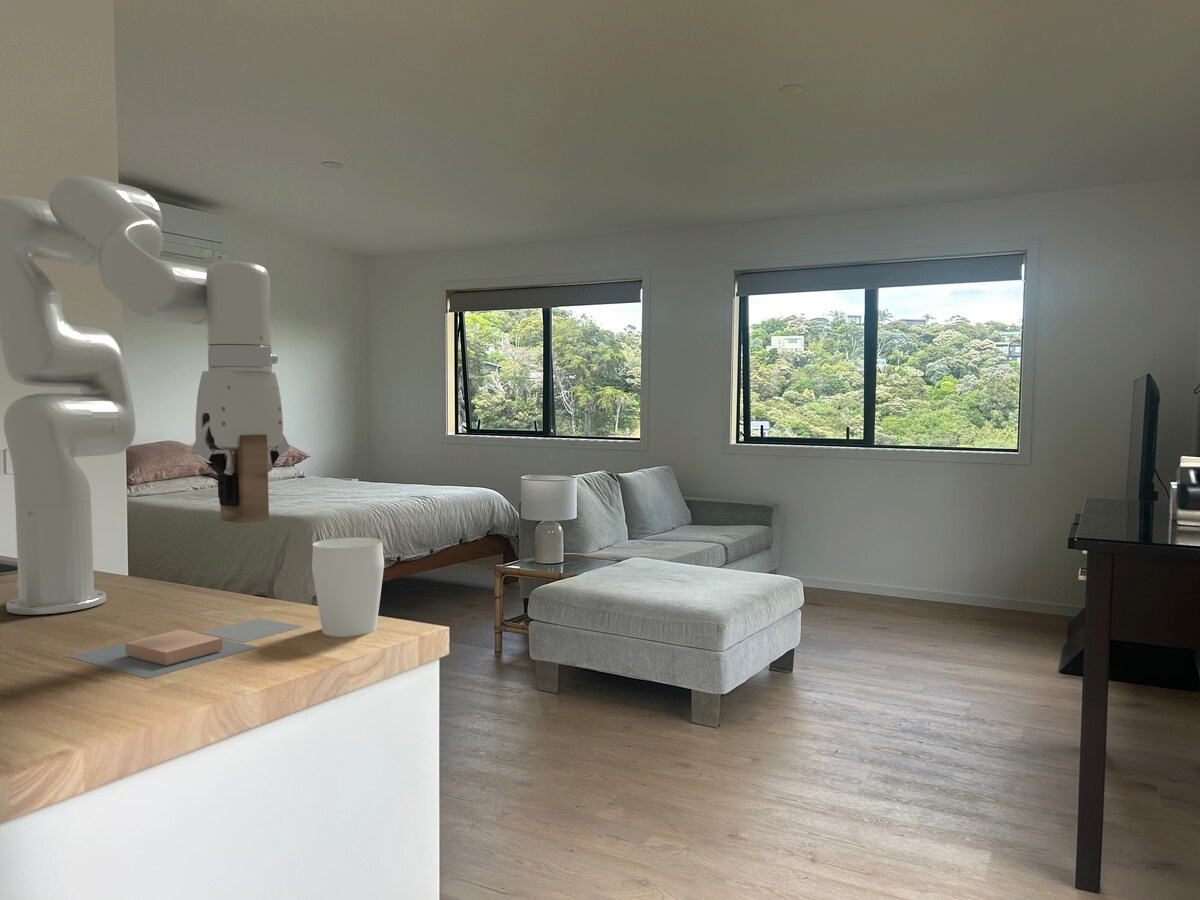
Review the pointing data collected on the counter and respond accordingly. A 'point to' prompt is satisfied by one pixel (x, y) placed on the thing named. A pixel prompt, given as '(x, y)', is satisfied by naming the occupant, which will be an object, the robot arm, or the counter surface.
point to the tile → (173, 647)
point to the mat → (124, 663)
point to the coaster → (251, 630)
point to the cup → (348, 584)
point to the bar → (250, 482)
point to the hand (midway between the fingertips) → (243, 502)
